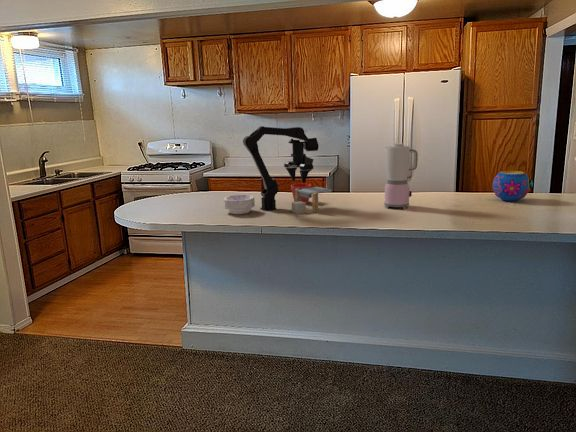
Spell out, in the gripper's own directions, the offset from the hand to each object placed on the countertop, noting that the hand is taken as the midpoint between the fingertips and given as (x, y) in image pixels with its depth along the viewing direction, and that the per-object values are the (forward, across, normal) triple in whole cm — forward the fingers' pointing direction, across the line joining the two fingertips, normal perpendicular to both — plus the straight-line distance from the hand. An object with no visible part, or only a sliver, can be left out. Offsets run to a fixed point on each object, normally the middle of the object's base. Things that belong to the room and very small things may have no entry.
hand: (298, 182), depth 230 cm
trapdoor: (+6, -10, -3) cm, 12 cm away
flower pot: (+13, +8, -7) cm, 17 cm away
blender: (+13, -35, -38) cm, 53 cm away
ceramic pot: (+13, -61, -93) cm, 112 cm away
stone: (+13, -11, +8) cm, 19 cm away
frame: (+13, -10, +2) cm, 17 cm away
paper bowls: (+13, +8, +31) cm, 35 cm away
